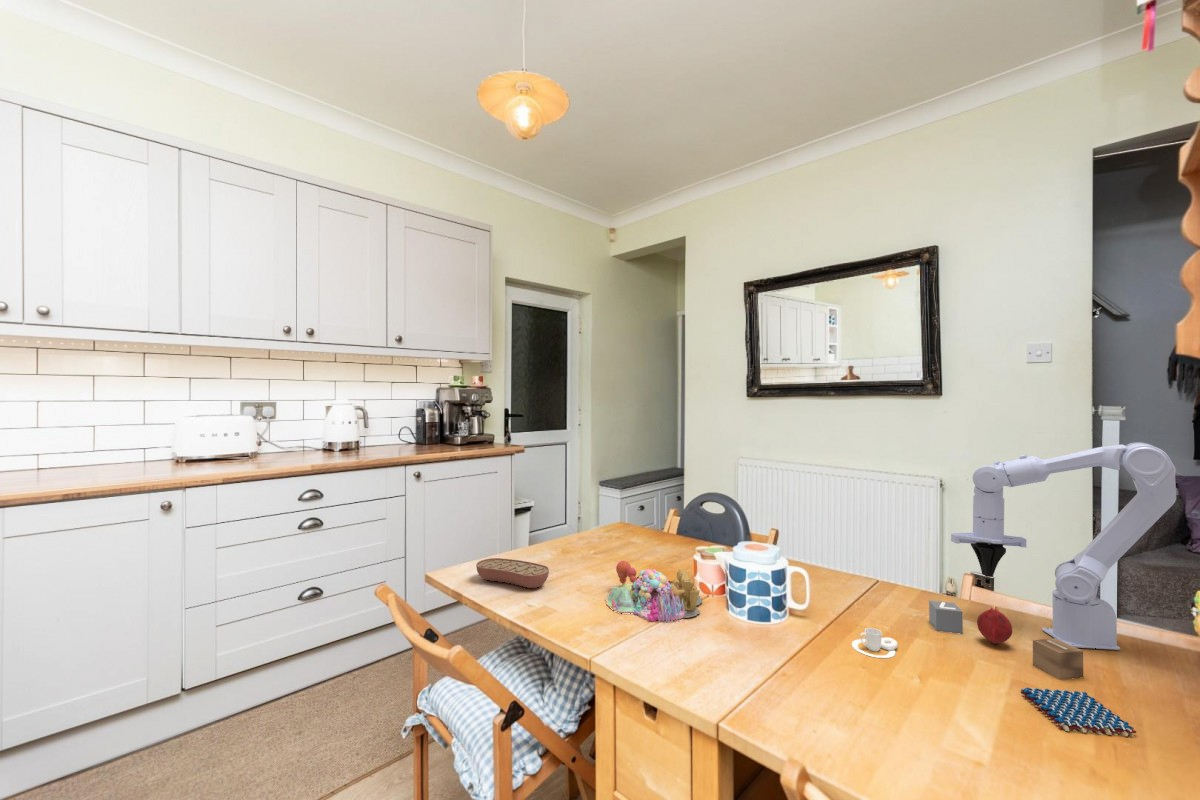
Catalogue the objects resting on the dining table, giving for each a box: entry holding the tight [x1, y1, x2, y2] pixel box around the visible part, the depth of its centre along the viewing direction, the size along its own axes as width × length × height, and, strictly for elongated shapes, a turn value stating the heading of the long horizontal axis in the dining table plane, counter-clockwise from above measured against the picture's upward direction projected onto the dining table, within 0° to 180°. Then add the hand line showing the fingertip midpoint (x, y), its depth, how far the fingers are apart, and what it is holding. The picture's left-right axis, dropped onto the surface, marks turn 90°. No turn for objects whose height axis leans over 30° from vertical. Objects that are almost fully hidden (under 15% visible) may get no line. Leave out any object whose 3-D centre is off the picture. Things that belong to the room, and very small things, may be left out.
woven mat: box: [1020, 686, 1137, 738], centre depth 82 cm, size 10×11×2 cm
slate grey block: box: [928, 600, 964, 635], centre depth 113 cm, size 5×5×5 cm
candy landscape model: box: [605, 560, 704, 624], centre depth 128 cm, size 25×24×9 cm
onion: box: [976, 604, 1013, 645], centre depth 105 cm, size 6×6×8 cm
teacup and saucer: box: [851, 627, 899, 659], centre depth 104 cm, size 9×8×4 cm
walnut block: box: [1032, 637, 1084, 681], centre depth 95 cm, size 5×5×5 cm
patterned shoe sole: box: [475, 557, 550, 589], centre depth 143 cm, size 23×10×5 cm, turn 64°
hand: (987, 575), depth 117 cm, fingers closed
